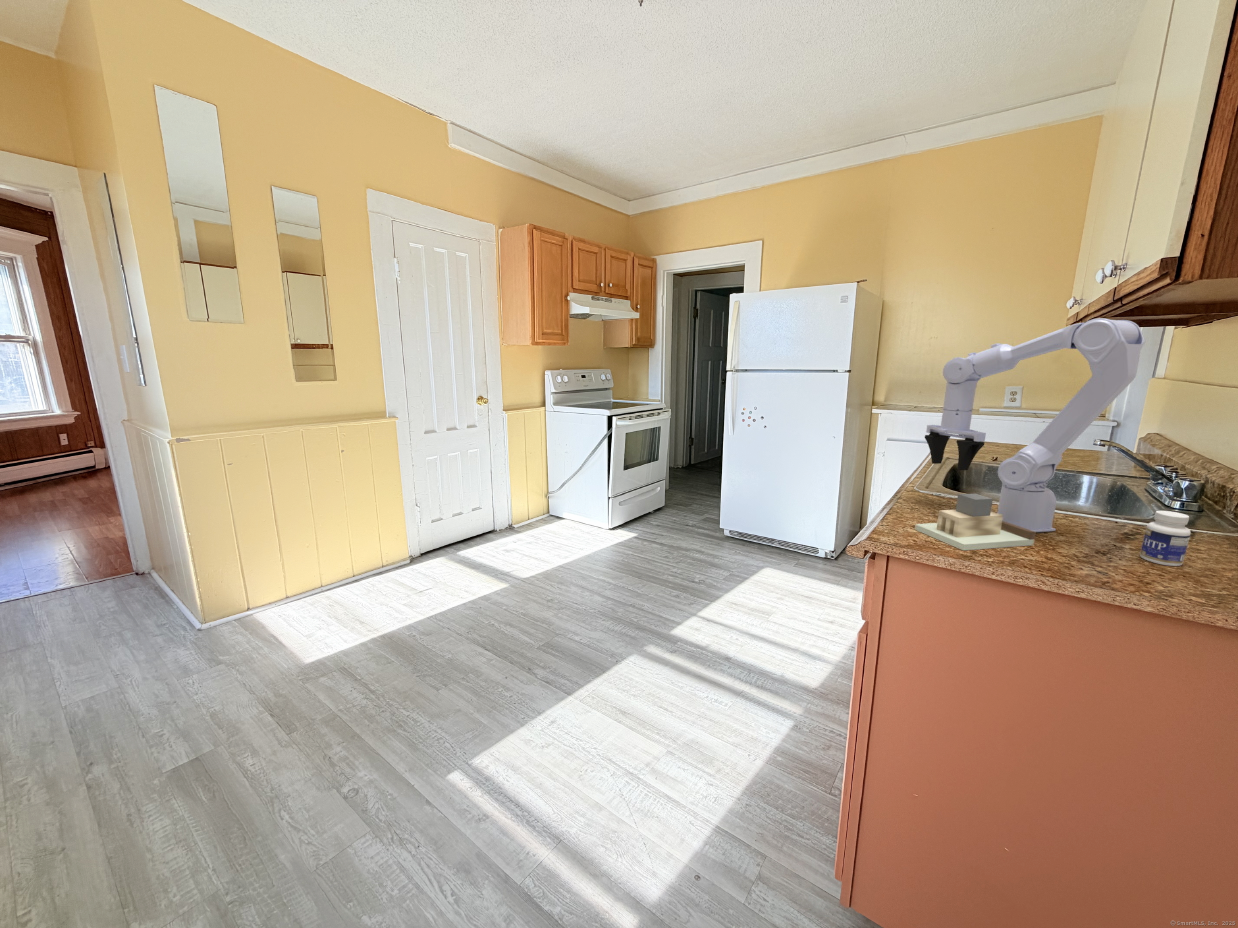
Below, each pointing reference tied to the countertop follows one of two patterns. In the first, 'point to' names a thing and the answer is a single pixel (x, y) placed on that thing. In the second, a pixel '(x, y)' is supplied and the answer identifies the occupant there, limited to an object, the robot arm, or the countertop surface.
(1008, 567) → the countertop surface
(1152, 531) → the pill bottle
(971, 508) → the gray cube
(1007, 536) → the pale green flat slab
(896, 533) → the countertop surface
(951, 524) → the pallet
